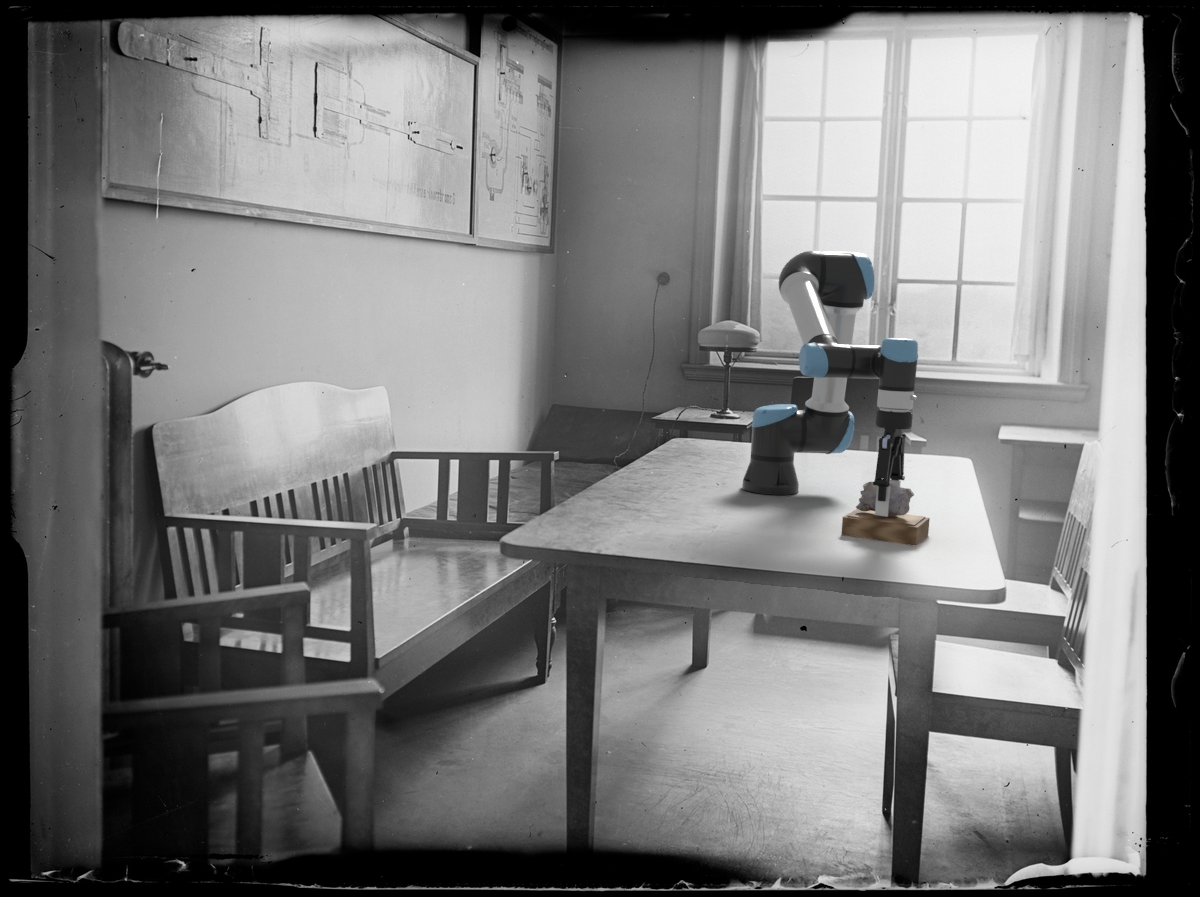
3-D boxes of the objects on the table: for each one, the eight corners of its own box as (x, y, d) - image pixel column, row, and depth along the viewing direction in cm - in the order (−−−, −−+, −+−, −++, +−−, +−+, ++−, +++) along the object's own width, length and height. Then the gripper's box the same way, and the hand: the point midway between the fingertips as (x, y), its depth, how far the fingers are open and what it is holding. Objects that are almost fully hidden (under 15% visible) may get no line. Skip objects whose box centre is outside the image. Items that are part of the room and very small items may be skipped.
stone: (906, 520, 205) (908, 488, 204) (851, 511, 212) (854, 481, 211) (917, 514, 211) (919, 483, 211) (864, 506, 218) (866, 477, 217)
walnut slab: (841, 534, 211) (842, 515, 210) (856, 525, 221) (858, 507, 220) (915, 545, 203) (917, 526, 202) (928, 535, 213) (929, 516, 212)
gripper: (900, 415, 197) (892, 522, 200) (923, 407, 215) (915, 506, 218) (864, 411, 201) (856, 517, 204) (889, 405, 219) (881, 502, 222)
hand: (886, 511), depth 211 cm, fingers closed on stone, 8 cm apart
